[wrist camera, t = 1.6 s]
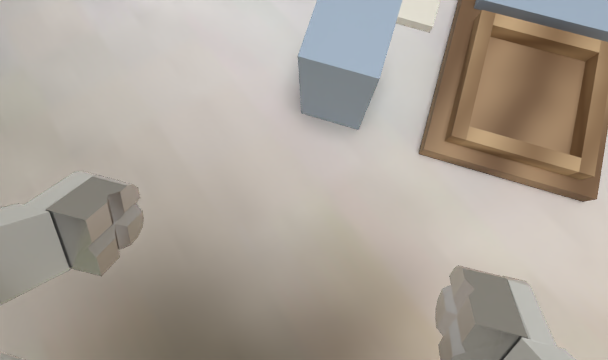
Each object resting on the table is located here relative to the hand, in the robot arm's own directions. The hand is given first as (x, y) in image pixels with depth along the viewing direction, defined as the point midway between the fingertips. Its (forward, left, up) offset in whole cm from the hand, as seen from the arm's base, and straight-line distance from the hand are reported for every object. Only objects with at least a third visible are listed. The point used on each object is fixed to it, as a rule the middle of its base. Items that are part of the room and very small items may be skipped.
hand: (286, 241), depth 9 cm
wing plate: (+12, +22, -15) cm, 30 cm away
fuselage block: (-1, +12, -16) cm, 20 cm away
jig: (+12, +17, -16) cm, 26 cm away
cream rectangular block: (+3, +21, -16) cm, 27 cm away
